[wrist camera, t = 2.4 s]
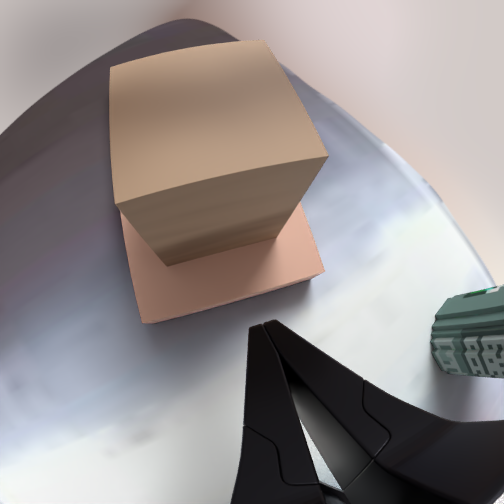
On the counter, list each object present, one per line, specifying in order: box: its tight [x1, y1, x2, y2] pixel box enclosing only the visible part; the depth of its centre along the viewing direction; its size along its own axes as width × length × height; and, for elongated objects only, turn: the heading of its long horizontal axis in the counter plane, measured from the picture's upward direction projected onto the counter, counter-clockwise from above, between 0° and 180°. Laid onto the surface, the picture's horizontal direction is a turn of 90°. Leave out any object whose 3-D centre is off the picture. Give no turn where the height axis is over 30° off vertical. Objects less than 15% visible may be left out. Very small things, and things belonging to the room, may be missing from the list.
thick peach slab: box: [120, 202, 325, 324], centre depth 17 cm, size 10×10×2 cm
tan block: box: [109, 40, 329, 267], centre depth 12 cm, size 6×6×8 cm
